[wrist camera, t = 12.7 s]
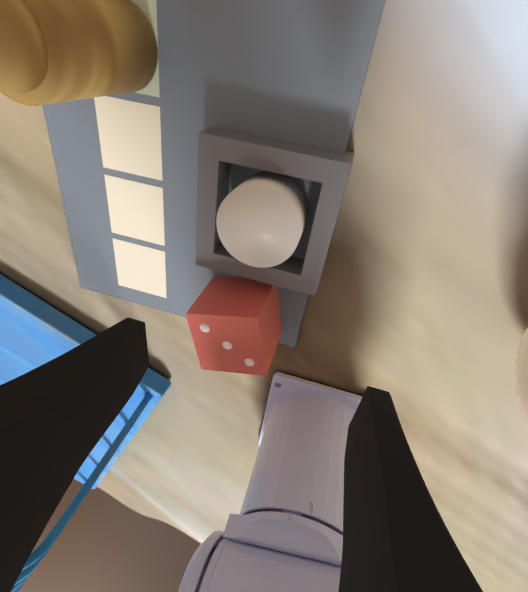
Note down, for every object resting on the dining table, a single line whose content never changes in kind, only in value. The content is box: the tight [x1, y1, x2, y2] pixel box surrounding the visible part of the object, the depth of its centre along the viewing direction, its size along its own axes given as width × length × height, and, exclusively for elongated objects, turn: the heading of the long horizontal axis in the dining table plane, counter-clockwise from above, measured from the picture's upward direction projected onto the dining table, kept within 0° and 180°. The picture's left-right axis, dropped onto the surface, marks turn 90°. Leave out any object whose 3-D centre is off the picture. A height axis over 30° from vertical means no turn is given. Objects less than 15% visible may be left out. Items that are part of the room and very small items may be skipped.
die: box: [186, 276, 282, 376], centre depth 20 cm, size 4×4×4 cm
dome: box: [216, 172, 308, 268], centre depth 17 cm, size 4×4×2 cm
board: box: [43, 0, 385, 348], centre depth 19 cm, size 18×16×1 cm
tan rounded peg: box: [0, 0, 158, 106], centre depth 13 cm, size 4×4×8 cm
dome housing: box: [195, 127, 354, 296], centre depth 18 cm, size 7×7×2 cm
